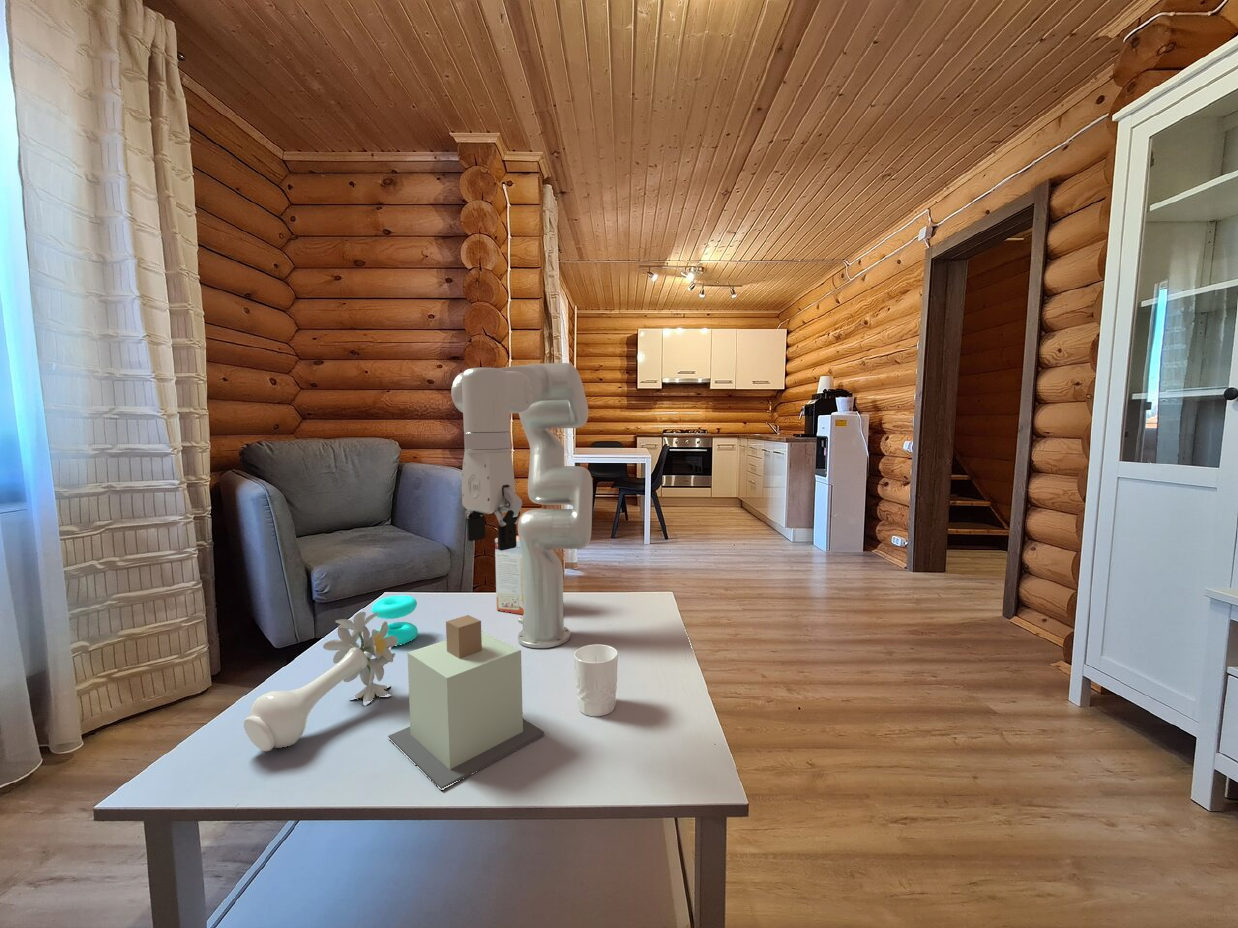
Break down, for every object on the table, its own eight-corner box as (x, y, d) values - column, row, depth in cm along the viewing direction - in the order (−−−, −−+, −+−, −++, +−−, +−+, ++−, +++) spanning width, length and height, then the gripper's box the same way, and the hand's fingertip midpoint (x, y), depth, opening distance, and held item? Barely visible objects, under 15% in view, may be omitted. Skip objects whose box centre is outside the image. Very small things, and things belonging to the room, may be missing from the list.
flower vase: (294, 796, 80) (413, 687, 102) (272, 707, 73) (404, 610, 95) (240, 763, 85) (365, 665, 106) (214, 677, 78) (353, 591, 100)
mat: (388, 739, 84) (388, 735, 84) (485, 697, 97) (485, 694, 97) (441, 791, 71) (441, 787, 71) (544, 735, 84) (544, 731, 84)
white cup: (613, 720, 88) (612, 664, 88) (569, 716, 90) (568, 660, 89) (622, 697, 96) (621, 645, 95) (581, 693, 98) (580, 642, 97)
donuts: (413, 591, 130) (419, 602, 122) (414, 629, 131) (421, 643, 122) (369, 598, 125) (373, 609, 117) (371, 638, 126) (375, 652, 117)
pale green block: (410, 734, 84) (406, 622, 83) (480, 703, 93) (477, 602, 92) (449, 769, 75) (445, 644, 74) (523, 731, 84) (520, 619, 83)
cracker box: (549, 610, 144) (548, 537, 142) (537, 618, 138) (535, 541, 137) (509, 604, 150) (507, 533, 148) (495, 611, 144) (493, 537, 143)
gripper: (442, 443, 89) (446, 540, 90) (496, 445, 77) (499, 557, 78) (481, 441, 94) (484, 533, 95) (537, 443, 82) (540, 548, 83)
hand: (491, 544), depth 87 cm, fingers open, 9 cm apart
